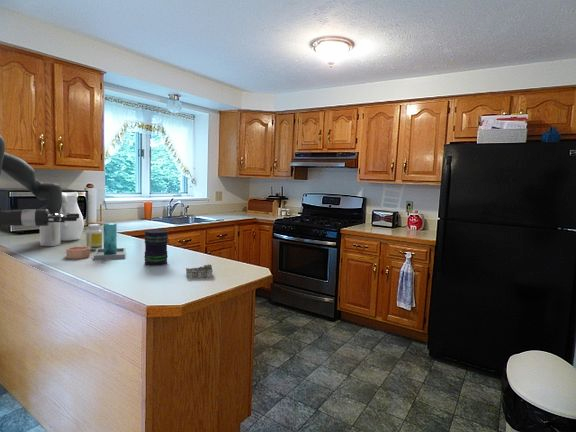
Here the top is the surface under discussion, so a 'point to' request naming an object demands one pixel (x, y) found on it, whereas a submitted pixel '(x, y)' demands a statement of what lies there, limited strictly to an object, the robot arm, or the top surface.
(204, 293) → the top surface
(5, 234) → the top surface
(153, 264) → the dark blue barrel
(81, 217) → the pitcher
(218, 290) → the top surface
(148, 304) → the top surface
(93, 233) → the supplement bottle
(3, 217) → the robot arm
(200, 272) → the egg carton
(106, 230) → the bottle
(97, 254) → the tray
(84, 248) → the peach octagonal bowl
